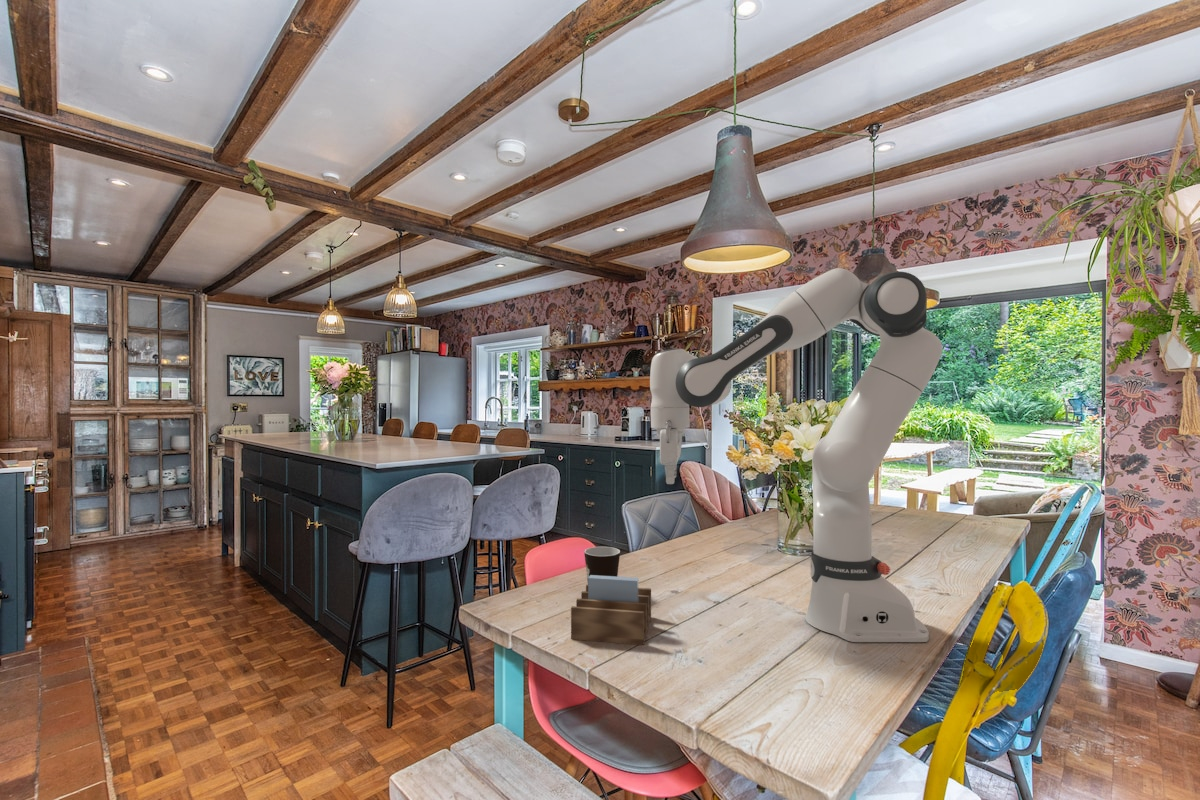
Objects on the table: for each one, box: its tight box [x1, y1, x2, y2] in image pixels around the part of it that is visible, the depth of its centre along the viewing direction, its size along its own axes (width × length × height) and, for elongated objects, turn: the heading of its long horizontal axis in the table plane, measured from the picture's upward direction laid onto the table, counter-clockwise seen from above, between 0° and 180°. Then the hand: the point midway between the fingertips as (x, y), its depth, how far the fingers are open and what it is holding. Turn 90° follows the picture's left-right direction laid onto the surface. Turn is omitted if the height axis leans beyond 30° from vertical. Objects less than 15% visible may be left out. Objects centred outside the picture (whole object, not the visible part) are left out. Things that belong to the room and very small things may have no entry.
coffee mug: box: [583, 546, 621, 582], centre depth 134 cm, size 12×9×10 cm
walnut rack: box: [570, 583, 652, 646], centre depth 112 cm, size 14×14×6 cm
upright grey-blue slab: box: [587, 575, 639, 603], centre depth 112 cm, size 10×2×9 cm, turn 79°
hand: (671, 480), depth 126 cm, fingers open, 8 cm apart
